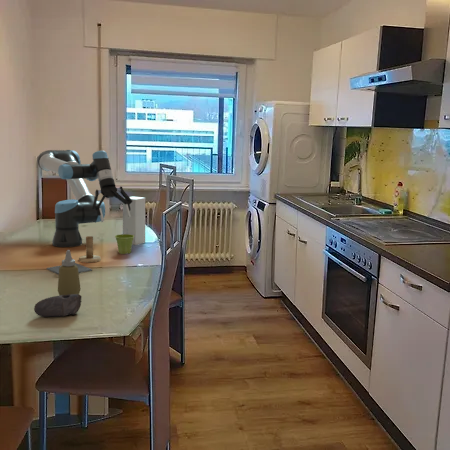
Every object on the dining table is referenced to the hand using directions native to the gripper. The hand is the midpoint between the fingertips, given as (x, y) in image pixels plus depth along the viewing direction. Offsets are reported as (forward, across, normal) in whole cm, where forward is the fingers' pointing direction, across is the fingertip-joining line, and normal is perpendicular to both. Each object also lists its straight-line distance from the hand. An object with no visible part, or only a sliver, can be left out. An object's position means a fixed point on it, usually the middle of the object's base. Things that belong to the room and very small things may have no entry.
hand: (116, 219), depth 255 cm
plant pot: (+17, +2, +6) cm, 18 cm away
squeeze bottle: (+42, -39, -50) cm, 76 cm away
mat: (+24, -30, -15) cm, 41 cm away
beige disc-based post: (+18, -18, -2) cm, 26 cm away
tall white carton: (+8, +13, +24) cm, 29 cm away
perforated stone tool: (+49, -46, -63) cm, 92 cm away
